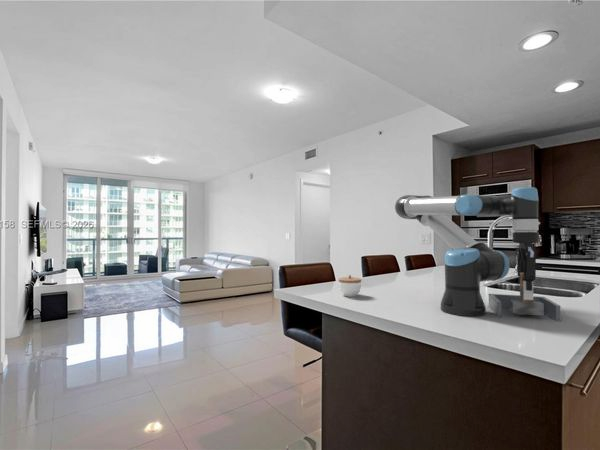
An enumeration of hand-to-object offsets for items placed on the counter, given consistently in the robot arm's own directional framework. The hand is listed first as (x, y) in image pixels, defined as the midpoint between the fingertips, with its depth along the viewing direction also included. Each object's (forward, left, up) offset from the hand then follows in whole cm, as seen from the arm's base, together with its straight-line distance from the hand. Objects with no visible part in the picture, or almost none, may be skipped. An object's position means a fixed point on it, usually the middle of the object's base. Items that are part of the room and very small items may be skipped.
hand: (526, 298), depth 111 cm
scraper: (0, 0, -5) cm, 5 cm away
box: (0, +6, -7) cm, 9 cm away
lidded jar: (-66, +17, -7) cm, 68 cm away
